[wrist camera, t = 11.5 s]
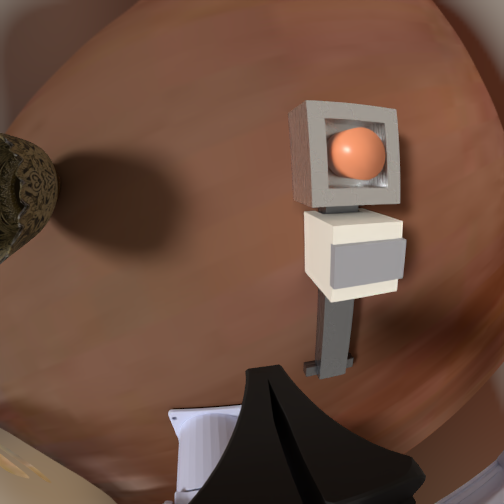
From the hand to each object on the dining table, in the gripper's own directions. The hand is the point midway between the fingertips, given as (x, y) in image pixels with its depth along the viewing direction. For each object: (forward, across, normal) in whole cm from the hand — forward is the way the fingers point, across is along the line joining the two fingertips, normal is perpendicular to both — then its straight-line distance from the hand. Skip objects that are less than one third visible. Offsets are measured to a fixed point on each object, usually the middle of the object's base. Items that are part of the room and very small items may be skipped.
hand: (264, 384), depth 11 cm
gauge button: (+8, -7, -9) cm, 14 cm away
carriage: (+10, -7, -3) cm, 13 cm away
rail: (+10, -7, +2) cm, 13 cm away
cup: (+11, +14, -9) cm, 20 cm away
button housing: (+10, -7, -9) cm, 15 cm away
